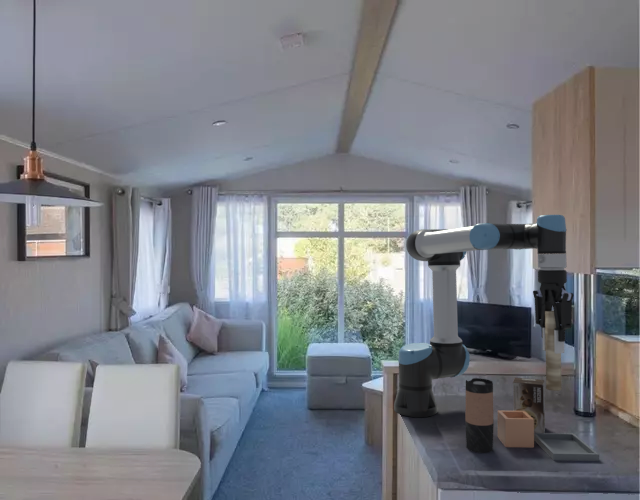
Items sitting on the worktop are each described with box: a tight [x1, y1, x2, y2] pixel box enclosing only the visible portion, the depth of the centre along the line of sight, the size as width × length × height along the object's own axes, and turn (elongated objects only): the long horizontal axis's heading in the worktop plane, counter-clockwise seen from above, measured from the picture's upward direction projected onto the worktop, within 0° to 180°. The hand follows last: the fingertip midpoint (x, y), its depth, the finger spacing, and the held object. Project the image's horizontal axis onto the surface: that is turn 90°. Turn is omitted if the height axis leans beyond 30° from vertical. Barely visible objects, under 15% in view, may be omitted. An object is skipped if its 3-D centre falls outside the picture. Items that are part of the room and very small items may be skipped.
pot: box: [497, 409, 535, 448], centre depth 156 cm, size 8×8×9 cm
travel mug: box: [464, 377, 494, 454], centre depth 151 cm, size 8×8×20 cm
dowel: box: [545, 310, 563, 392], centre depth 151 cm, size 4×4×22 cm
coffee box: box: [512, 377, 546, 433], centre depth 167 cm, size 9×6×16 cm
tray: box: [534, 432, 600, 462], centre depth 150 cm, size 16×12×3 cm
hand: (553, 351), depth 151 cm, fingers closed on dowel, 4 cm apart
